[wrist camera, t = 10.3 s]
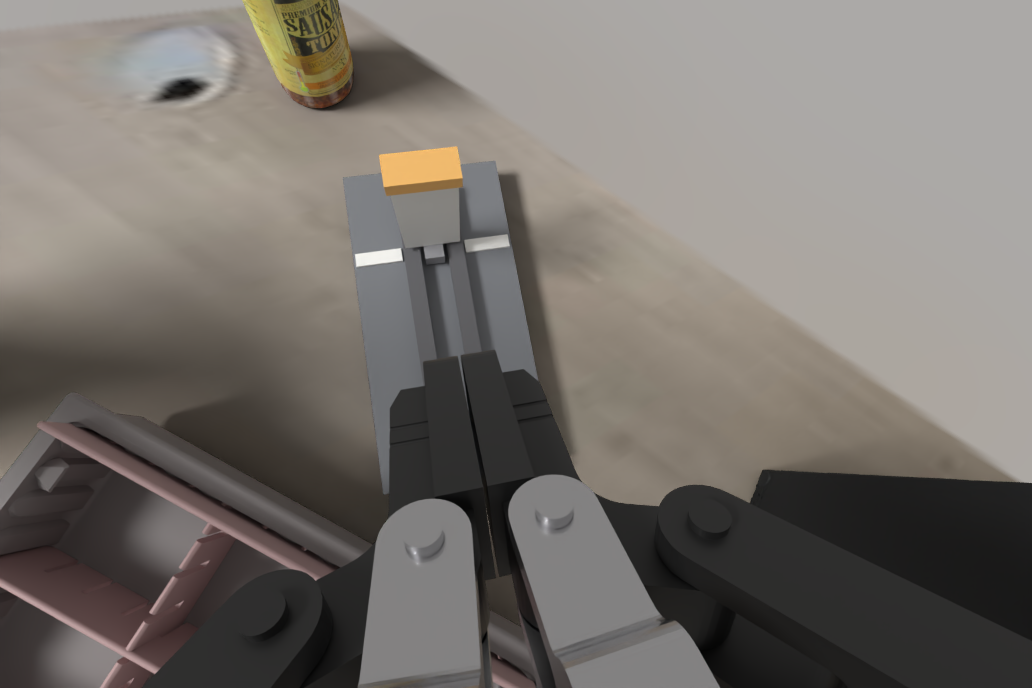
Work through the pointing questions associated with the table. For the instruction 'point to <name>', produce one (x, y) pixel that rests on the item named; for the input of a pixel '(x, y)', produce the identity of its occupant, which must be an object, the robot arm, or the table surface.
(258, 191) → the table surface
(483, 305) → the grey slider track base
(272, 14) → the sauce bottle
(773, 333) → the table surface
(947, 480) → the black drawer cabinet
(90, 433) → the organizer tray
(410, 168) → the fader tab
